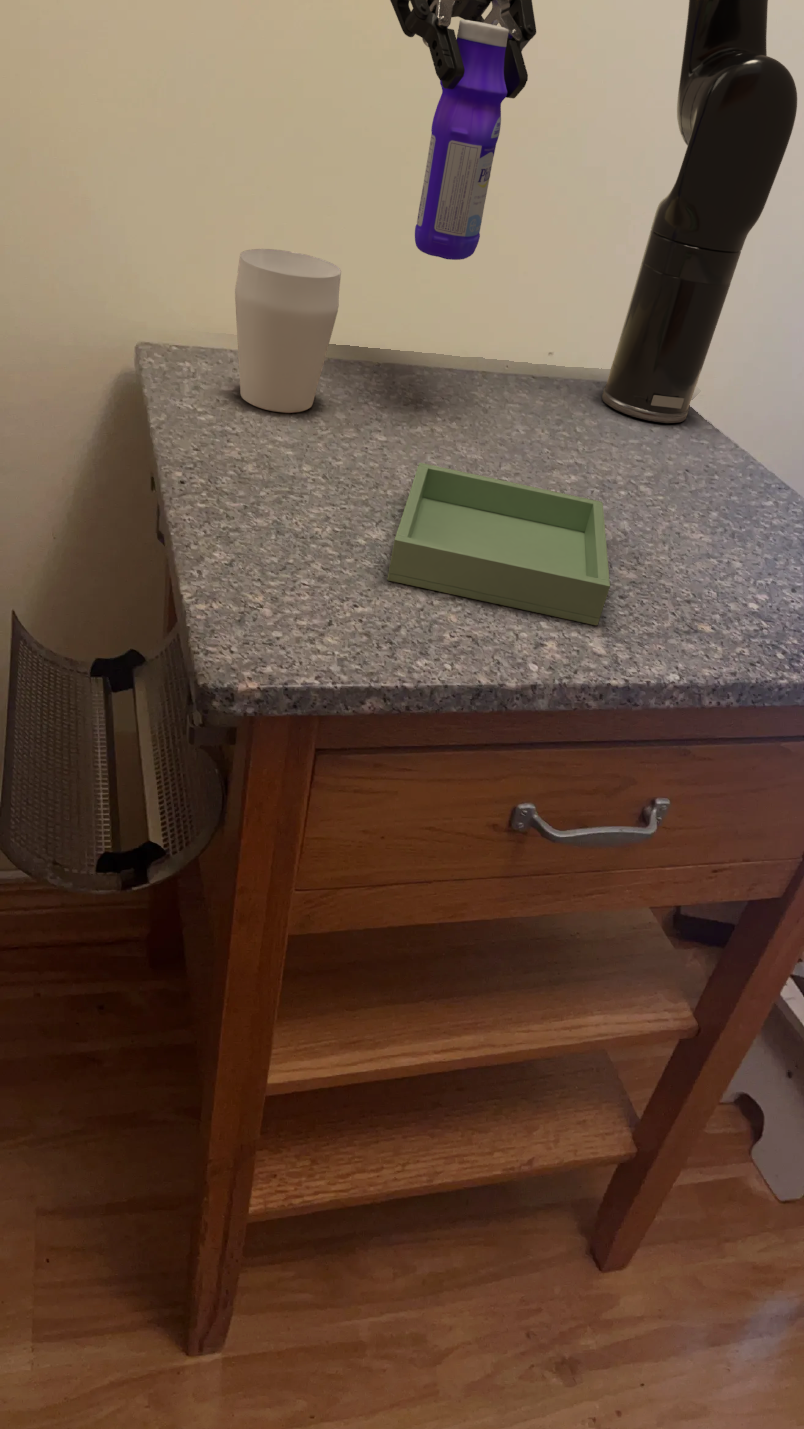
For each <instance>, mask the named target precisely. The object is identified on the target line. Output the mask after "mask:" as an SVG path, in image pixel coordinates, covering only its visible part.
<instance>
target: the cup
mask: <svg viewBox="0 0 804 1429" xmlns="http://www.w3.org/2000/svg"><path fill="white" fill-rule="evenodd" d="M341 275H342V270H341V268H340V267H339V266H338V265H336V264H334V263H333V262H331V261H328V260H326V259H324V258H323V259H322V258H320V257H316V256H313V255H310V254H306V253H300V252H296V251H290V250H282V249H273V248H253V249H252V248H251V249H246V250H244V251H241V252H240V253H239V259H238V267H237V275H236V281H235V286H234V301H235V304H234V305H235V320H236V338H237V356H238V357H237V358H238V372H239V388H240V389H239V390H240V391H239V392H240V393H239V394H240V396H241V399H243V400H244V401H245V402H246V403H248V404H249V405H251V406H253V407H255V408H258V409H261V410H264V411H265V410H266V411H270V412H275V413H285V414H291V413H292V414H294V413H301V412H304V411H307V410H308V409H311V408H312V407H313V404H314V400H315V396H316V394H317V390H318V386H319V382H320V378H321V374H322V371H323V368H324V363H325V360H326V356H327V352H328V349H329V346H330V341H331V338H332V334H333V330H334V327H335V323H336V319H337V317H338V316H337V315H338V312H339V307H340V290H341V289H340V287H341V278H342V276H341Z"/></svg>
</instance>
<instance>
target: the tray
mask: <svg viewBox="0 0 804 1429" xmlns="http://www.w3.org/2000/svg"><path fill="white" fill-rule="evenodd" d="M605 522H606V521H605V512H604V503H603V501H601V500H596V499H591V498H586V497H582V496H577V495H573V494H569V493H564V492H558V491H554V490H550V489H545V488H541V487H534V486H530V485H527V484H522V483H516V482H512V481H507V480H504V479H499V478H494V477H489V476H484V475H480V474H476V473H470V472H466V471H461V470H456V469H452V468H447V467H444V466H438V465H434V464H429V463H424V462H419V463H418V465H417V467H416V472H415V475H414V478H413V481H412V484H411V487H410V490H409V493H408V497H407V499H406V503H405V505H404V509H403V512H402V516H401V517H400V521H399V524H398V528H397V531H396V534H395V537H394V539H393V546H392V552H391V556H390V562H389V567H388V573H387V578H386V580H387V581H389V582H393V583H398V584H403V585H406V586H407V585H408V586H412V587H416V588H421V589H425V590H431V591H435V592H440V593H445V594H450V595H454V596H458V597H463V598H467V599H472V600H477V601H482V602H487V603H490V604H494V605H500V606H505V607H510V608H514V609H518V610H523V611H528V612H533V613H537V614H541V615H547V616H551V617H556V618H559V619H564V620H570V621H573V622H579V623H583V624H588V625H593V626H598V625H599V622H600V619H601V617H602V612H603V610H604V606H605V604H606V600H607V597H608V596H609V595H608V594H609V592H610V589H611V581H610V568H609V558H608V547H607V536H606V524H605Z"/></svg>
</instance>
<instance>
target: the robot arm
mask: <svg viewBox="0 0 804 1429" xmlns="http://www.w3.org/2000/svg"><path fill="white" fill-rule="evenodd" d="M389 1H390V4H391V5H392V9H393V11H394V13H395V15H396V18H397V21H398V23H399V25H400V28H401V31H402V32H403V34H404V35H405V36H406V37H408V38H414V37H415V36H418V37H419V38H421V39H422V42H423V44H424V45H425V46H426V47H427V48H428V49H429V53H430V56H431V60H432V62H433V64H432V65H433V67H434V71H435V74H436V76H437V78H438V80H439V81H440V80H441V81H442V85H443V87H444V88H446V89H454V88H455V87H456V85H457V84H458V83H459V81H460V80H461V79H462V77H463V76H464V71H465V69H464V65H463V61H462V58H461V54H460V50H459V47H458V43H457V35H456V33H455V29H453V28H449V27H450V25H451V23H452V18H456V17H457V18H459V19H461V20H470V21H476V22H482V23H487V24H491V25H496V26H498V25H499V26H500V27H503V28H506V29H508V30H509V33H508V38H507V44H506V50H505V58H504V79H505V84H506V89H507V96H506V98H507V99H508V98H509V99H516V98H517V96H519V94H520V93H521V92H522V91H523V90H524V88H525V87H526V85H527V82H528V81H529V80H528V79H529V74H528V71H527V66H526V63H525V59H524V57H523V56H524V55H523V51H524V48H525V47H526V46H527V45H528V43H529V42H530V41H531V40H533V38H534V37H535V36H536V34H537V26H536V20H535V19H536V18H535V12H534V5H533V0H389ZM410 4H411V6H412V9H411V8H410ZM768 4H769V0H688V6H687V9H688V10H687V19H686V28H685V36H684V43H683V44H684V45H683V51H682V61H681V67H680V76H679V84H678V91H677V92H678V93H677V101H676V102H677V103H676V122H677V125H678V131H679V133H680V135H681V138H682V140H683V142H684V143H685V145H686V150H685V153H684V156H683V159H682V162H681V165H680V169H679V171H678V175H677V177H676V180H675V183H674V184H673V186H672V187H671V190H670V192H669V193H668V194H667V195H666V196H665V197H664V198H663V199H662V200H660V202H659V203H658V205H657V207H656V210H655V212H654V217H653V221H652V224H651V227H650V232H649V235H648V239H647V242H646V244H645V248H644V252H643V256H642V259H641V263H640V267H639V270H638V274H637V276H636V277H637V278H636V280H635V284H634V288H633V291H632V295H631V298H630V301H629V305H628V308H627V312H626V315H625V319H624V322H623V325H622V329H621V332H620V336H619V340H618V343H617V347H616V350H615V353H614V357H613V360H612V363H611V367H610V369H609V374H608V377H607V381H606V384H605V386H604V387H603V390H602V391H603V392H602V394H601V399H602V401H603V402H604V403H605V404H606V406H609V407H610V408H611V409H614V410H615V411H618V412H620V413H622V414H624V415H626V416H630V417H633V418H636V419H640V420H644V421H647V422H654V423H663V424H676V423H681V422H684V421H685V420H687V417H688V414H689V412H690V405H691V402H692V399H693V396H694V393H695V390H696V387H697V385H698V382H699V380H700V379H699V378H700V376H701V373H702V370H703V367H704V364H705V361H706V358H707V355H708V353H709V349H710V346H711V343H712V340H713V337H714V333H715V332H716V329H717V325H718V322H719V319H720V316H721V313H722V311H723V308H724V305H725V301H726V298H727V296H728V293H729V289H730V286H731V284H732V280H733V277H734V275H735V272H736V269H737V265H738V262H739V259H740V257H741V253H742V251H743V247H744V245H745V242H746V239H747V237H748V235H749V233H750V232H751V230H752V229H753V228H754V226H755V225H756V224H757V223H758V221H759V219H760V217H761V215H762V213H763V211H764V209H765V207H766V204H767V202H768V198H769V196H770V194H771V191H772V188H773V185H774V183H775V180H776V178H777V175H778V173H779V169H780V167H781V164H782V162H783V159H784V157H785V153H786V152H787V151H786V150H787V148H788V146H789V145H788V144H789V142H790V139H791V136H792V133H793V130H794V125H795V121H796V117H797V111H798V90H797V86H796V82H795V79H794V78H793V75H792V73H791V71H789V69H788V68H787V67H786V66H785V65H784V64H783V63H782V62H780V61H779V60H778V59H775V58H773V57H771V56H768V55H767V53H768V52H767V30H768V6H769V5H768ZM490 5H491V10H490V11H489V12H488V14H487V15H486V17H485V18H484V17H483V15H484V13H485V12H486V10H487V9H488V8H489V7H490ZM506 98H505V99H506Z"/></svg>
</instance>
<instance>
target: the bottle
mask: <svg viewBox="0 0 804 1429" xmlns="http://www.w3.org/2000/svg"><path fill="white" fill-rule="evenodd" d="M508 33H509V30H508V29H506V28H503V27H501V25H497V26H496V25H491V24H487V23H482V22H476V21H470V20H464V19H460V20H459V24H458V28H457V34H456V39H457V43H458V47H459V50H460V54H461V58H462V61H463V65H464V69H465V71H464V76H463V77H462V79H461V80H460V81H459V83H458V84H457V85H456V87H455V88H454V89H446V88H444V87H443V85H442V81H441V80H440V79H439V84H440V87H441V95H440V98H439V100H438V102H437V105H436V107H435V108H436V109H435V112H434V113H433V114H434V115H433V119H432V124H431V129H430V130H431V134H430V140H429V147H428V154H427V158H426V165H425V171H424V176H423V177H424V178H423V184H422V188H421V189H422V190H421V195H420V200H419V206H418V213H417V218H416V225H415V226H414V241H415V246H416V248H417V249H418V250H419V251H420V252H421V253H423V254H426V255H427V256H431V257H436V258H442V259H444V260H454V261H458V260H459V261H461V260H465V259H468V258H469V257H471V256H473V255H474V253H475V252H476V249H477V247H478V244H479V242H480V238H481V233H480V232H481V227H482V222H483V216H484V211H485V210H484V209H485V204H486V201H487V200H486V199H487V194H488V189H489V183H490V178H491V172H492V168H493V162H494V157H495V153H496V148H497V143H498V140H499V137H500V134H501V127H502V125H501V124H502V103H503V101H504V100H505V99H506V96H507V89H506V84H505V79H504V58H505V50H506V44H507V38H508Z"/></svg>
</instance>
